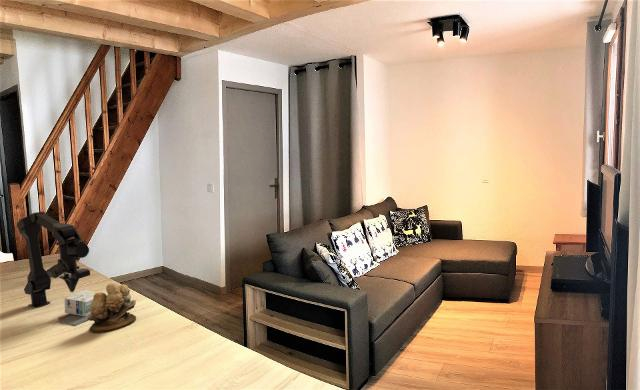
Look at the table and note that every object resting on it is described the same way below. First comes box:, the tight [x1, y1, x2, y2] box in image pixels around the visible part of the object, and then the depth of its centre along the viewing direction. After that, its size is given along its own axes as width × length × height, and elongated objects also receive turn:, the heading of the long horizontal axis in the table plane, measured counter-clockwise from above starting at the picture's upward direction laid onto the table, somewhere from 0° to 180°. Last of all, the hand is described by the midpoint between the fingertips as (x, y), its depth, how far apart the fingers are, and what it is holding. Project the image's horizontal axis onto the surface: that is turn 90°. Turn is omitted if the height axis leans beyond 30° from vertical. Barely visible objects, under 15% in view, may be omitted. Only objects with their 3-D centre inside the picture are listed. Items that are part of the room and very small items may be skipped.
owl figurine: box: [88, 282, 137, 334], centre depth 173 cm, size 18×12×17 cm, turn 136°
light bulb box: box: [64, 289, 99, 317], centre depth 188 cm, size 11×7×11 cm
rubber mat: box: [57, 314, 92, 327], centre depth 185 cm, size 11×18×1 cm, turn 152°
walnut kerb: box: [57, 313, 74, 321], centre depth 188 cm, size 1×16×1 cm, turn 152°
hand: (72, 291), depth 188 cm, fingers closed
